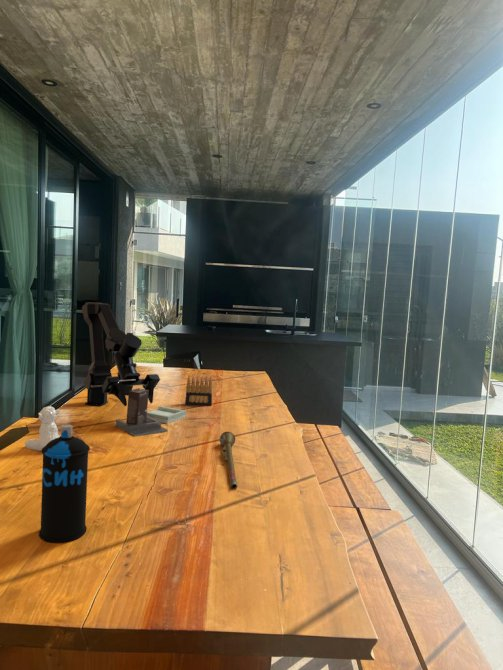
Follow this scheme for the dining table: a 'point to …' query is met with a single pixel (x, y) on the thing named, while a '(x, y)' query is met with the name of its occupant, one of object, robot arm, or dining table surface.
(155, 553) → the dining table surface
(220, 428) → the dining table surface
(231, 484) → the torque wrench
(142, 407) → the box
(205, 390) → the ammunition clip
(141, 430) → the socket bracket
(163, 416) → the tray
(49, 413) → the sitting furry creature
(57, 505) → the aerosol can
